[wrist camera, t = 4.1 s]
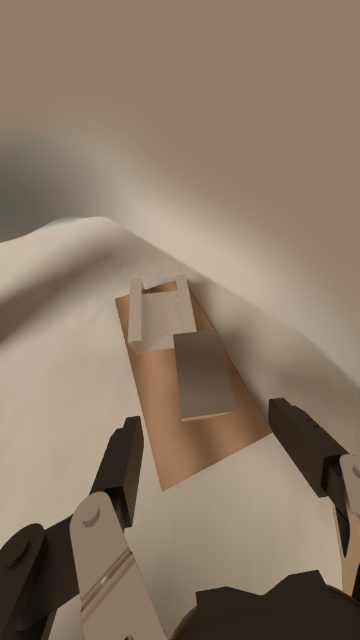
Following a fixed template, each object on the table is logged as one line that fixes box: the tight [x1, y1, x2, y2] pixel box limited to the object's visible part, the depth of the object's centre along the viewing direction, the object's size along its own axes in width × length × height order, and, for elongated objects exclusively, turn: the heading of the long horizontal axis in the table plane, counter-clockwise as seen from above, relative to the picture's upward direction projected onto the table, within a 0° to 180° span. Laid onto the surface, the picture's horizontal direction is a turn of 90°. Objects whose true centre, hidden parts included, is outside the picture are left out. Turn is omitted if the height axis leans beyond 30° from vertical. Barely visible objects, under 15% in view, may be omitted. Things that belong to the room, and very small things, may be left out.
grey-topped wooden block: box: [173, 329, 237, 422], centre depth 14 cm, size 5×3×9 cm, turn 7°
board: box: [115, 281, 272, 491], centre depth 21 cm, size 11×22×1 cm, turn 22°
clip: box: [128, 275, 197, 353], centre depth 22 cm, size 9×7×3 cm
